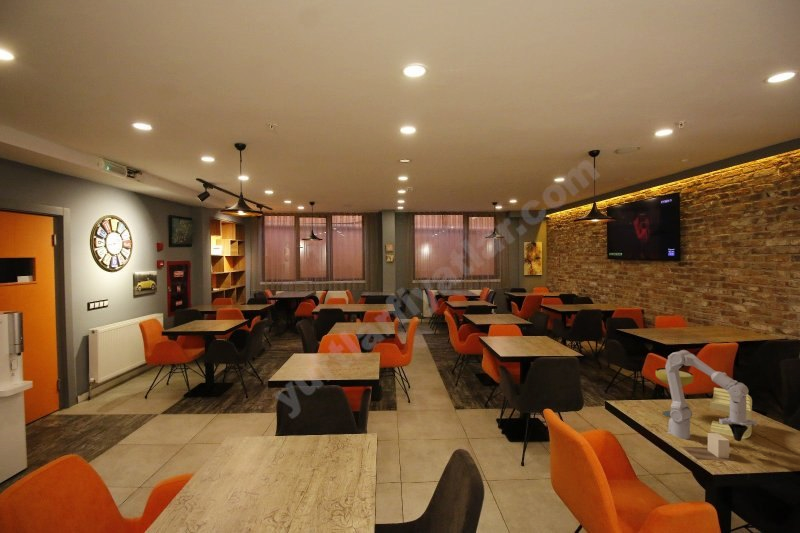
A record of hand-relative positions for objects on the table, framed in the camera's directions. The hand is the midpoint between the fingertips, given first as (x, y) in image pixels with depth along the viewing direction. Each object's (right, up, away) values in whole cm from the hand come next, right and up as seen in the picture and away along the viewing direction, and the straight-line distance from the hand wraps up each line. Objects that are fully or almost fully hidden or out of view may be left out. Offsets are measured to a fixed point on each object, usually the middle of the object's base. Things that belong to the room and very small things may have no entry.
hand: (737, 440), depth 178 cm
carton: (-8, -7, +1) cm, 11 cm away
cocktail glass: (+5, -7, +49) cm, 50 cm away
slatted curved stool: (+20, -8, +27) cm, 35 cm away
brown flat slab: (-13, -8, +1) cm, 15 cm away
